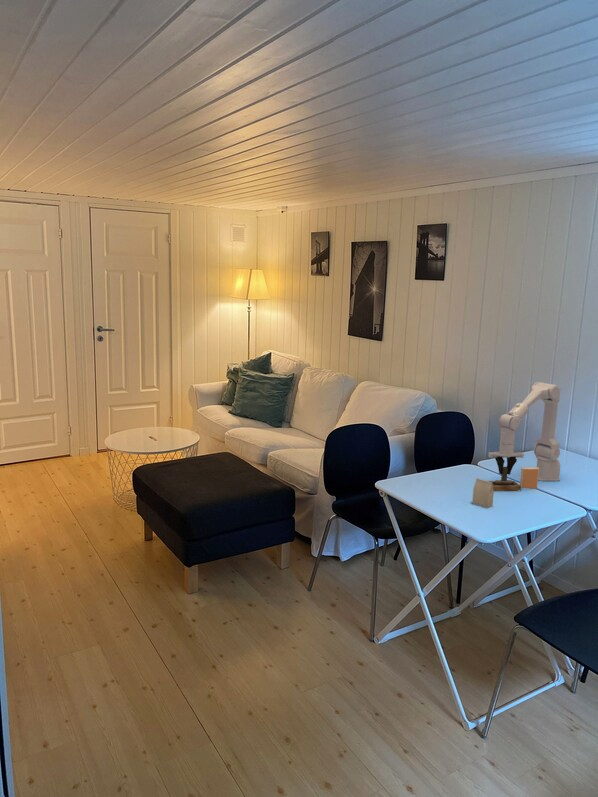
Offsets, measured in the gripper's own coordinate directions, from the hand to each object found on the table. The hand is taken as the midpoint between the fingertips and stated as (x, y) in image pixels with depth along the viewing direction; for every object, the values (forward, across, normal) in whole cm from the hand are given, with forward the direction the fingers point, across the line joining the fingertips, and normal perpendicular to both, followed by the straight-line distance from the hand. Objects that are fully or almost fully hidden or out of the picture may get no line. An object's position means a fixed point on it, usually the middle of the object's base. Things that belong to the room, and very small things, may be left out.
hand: (504, 473), depth 261 cm
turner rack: (+6, 0, 0) cm, 6 cm away
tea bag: (+7, +16, +19) cm, 26 cm away
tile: (+6, -11, 0) cm, 13 cm away
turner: (+6, 0, 0) cm, 6 cm away
